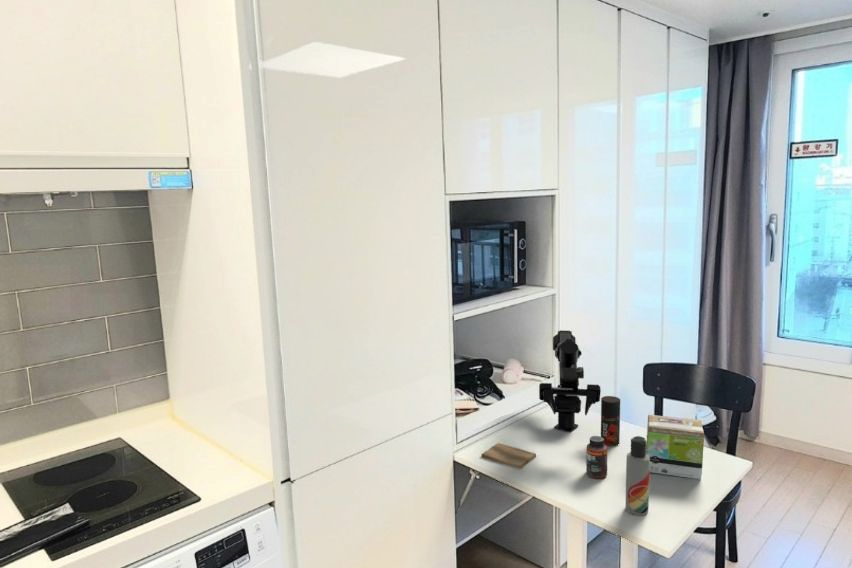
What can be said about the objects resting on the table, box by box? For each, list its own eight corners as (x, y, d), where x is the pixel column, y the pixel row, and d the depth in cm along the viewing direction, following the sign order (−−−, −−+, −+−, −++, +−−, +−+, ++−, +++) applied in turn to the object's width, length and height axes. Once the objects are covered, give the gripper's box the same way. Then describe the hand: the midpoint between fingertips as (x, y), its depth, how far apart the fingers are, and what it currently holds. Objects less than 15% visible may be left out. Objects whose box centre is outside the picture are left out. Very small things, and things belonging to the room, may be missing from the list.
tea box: (646, 473, 171) (647, 426, 168) (645, 458, 180) (647, 413, 178) (702, 480, 166) (704, 432, 163) (699, 464, 175) (701, 418, 172)
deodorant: (621, 440, 193) (622, 397, 190) (616, 447, 188) (617, 403, 185) (603, 437, 196) (604, 394, 194) (598, 444, 191) (599, 400, 189)
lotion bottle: (645, 518, 148) (648, 444, 145) (623, 512, 151) (624, 440, 148) (650, 507, 153) (652, 436, 150) (628, 502, 156) (629, 431, 153)
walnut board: (498, 445, 192) (498, 442, 192) (535, 456, 184) (535, 453, 184) (481, 457, 185) (481, 454, 185) (520, 469, 176) (520, 466, 176)
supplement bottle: (604, 469, 174) (605, 434, 172) (609, 479, 168) (609, 442, 166) (584, 469, 174) (584, 434, 173) (588, 479, 169) (588, 442, 167)
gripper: (539, 357, 186) (539, 396, 174) (599, 358, 182) (603, 398, 170) (539, 380, 193) (539, 418, 181) (597, 382, 189) (601, 421, 177)
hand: (570, 414), depth 177 cm, fingers open, 9 cm apart
